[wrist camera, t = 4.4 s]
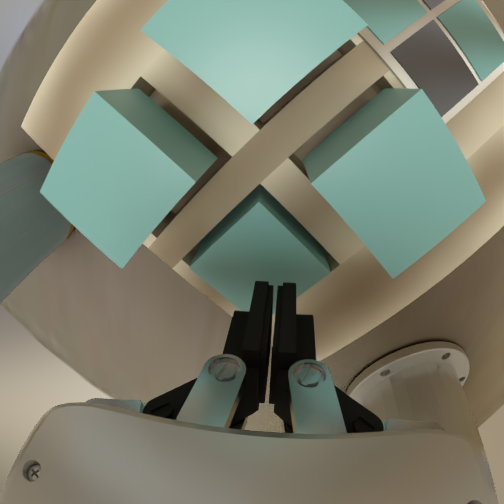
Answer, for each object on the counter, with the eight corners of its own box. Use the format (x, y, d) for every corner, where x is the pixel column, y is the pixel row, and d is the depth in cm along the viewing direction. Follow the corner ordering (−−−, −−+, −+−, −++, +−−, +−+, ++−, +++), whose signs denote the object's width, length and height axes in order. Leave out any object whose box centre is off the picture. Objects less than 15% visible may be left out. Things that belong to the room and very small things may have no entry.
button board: (527, 148, 13) (565, 165, 9) (302, 332, 21) (304, 375, 18) (296, -114, 6) (298, -149, 3) (57, 116, 15) (15, 128, 11)
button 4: (217, 158, 12) (195, 182, 9) (153, 229, 14) (121, 269, 11) (139, 88, 11) (94, 90, 8) (85, 167, 12) (39, 191, 9)
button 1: (443, 173, 11) (486, 201, 8) (369, 235, 13) (392, 279, 10) (384, 88, 10) (421, 89, 7) (302, 159, 12) (310, 183, 9)
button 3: (343, 43, 9) (368, 25, 6) (259, 116, 11) (252, 124, 8) (257, -30, 8) (249, -68, 5) (176, 44, 10) (139, 30, 7)
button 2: (321, 238, 17) (330, 272, 14) (262, 284, 18) (258, 324, 15) (263, 178, 15) (258, 202, 12) (204, 234, 17) (188, 267, 14)
